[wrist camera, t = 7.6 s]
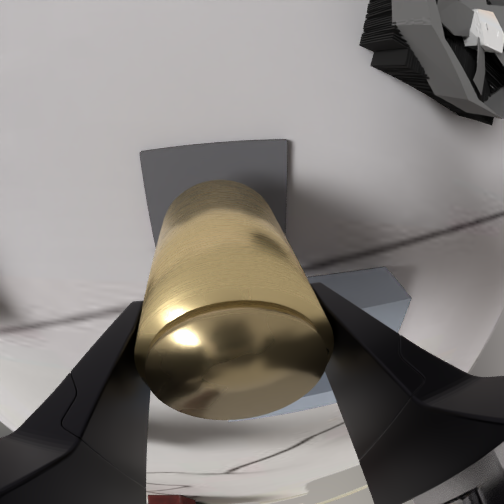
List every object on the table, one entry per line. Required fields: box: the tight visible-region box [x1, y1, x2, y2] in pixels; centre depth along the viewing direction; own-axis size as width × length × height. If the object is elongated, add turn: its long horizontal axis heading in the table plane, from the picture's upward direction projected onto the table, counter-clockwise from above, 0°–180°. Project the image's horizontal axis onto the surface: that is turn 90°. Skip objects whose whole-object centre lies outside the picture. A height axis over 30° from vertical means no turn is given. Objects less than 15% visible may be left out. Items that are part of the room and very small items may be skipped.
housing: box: [228, 267, 411, 422], centre depth 20 cm, size 11×12×4 cm
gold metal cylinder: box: [134, 180, 334, 420], centre depth 10 cm, size 5×5×7 cm
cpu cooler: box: [359, 0, 504, 125], centre depth 8 cm, size 10×6×10 cm
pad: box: [140, 139, 287, 247], centre depth 15 cm, size 7×7×1 cm
